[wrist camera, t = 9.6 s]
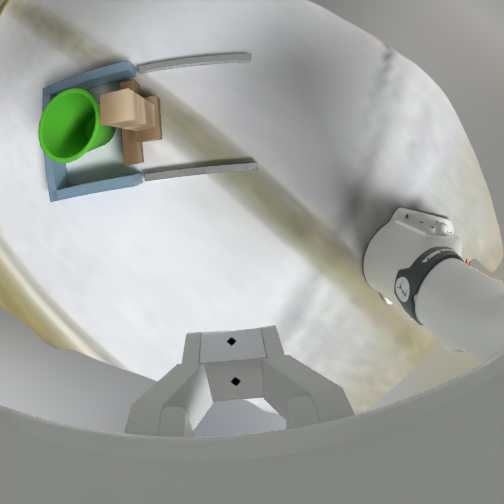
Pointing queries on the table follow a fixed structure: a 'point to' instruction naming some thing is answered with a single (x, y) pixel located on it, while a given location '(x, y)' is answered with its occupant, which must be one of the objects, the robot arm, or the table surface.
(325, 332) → the table surface
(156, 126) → the stepped wooden block
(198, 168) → the track
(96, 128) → the cup
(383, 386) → the table surface
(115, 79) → the bay
